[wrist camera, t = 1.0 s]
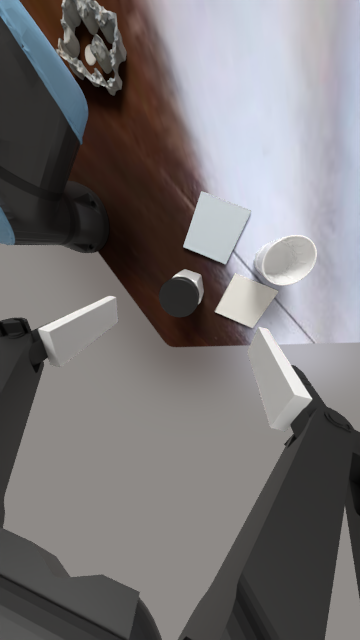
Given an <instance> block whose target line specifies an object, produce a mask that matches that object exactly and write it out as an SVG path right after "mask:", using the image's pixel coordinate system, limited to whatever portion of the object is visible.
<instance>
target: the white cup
mask: <svg viewBox="0 0 360 640" xmlns="http://www.w3.org/2000/svg"><path fill="white" fill-rule="evenodd" d="M316 258H317V250H316V247H315V245H314V243H313V242H312V241H311V240H310V239H309V238H307V237H305V236H301V235H291V236H287V237H284V238H280V239H277V240H274V241H272V242H269V243H267V244H265V245H264V246H262V247H261V248H260V249H259V250H258V251H257V253H256V254H255V258H254V265H255V268H256V269H257V270H258V272H259V273H260V274H261V275H262V276H263V277H264V278H266V279H267V280H268V281H269V282H271V283H273V284H275V285H280V286H285V285H291V284H294V283H296V282H298V281H300V280H302V279H303V278H304V277H305V276H307V275H308V274H309V272H310V271H311V270H312V268H313V267H314V264H315V262H316Z"/></svg>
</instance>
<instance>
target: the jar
mask: <svg viewBox="0 0 360 640" xmlns="http://www.w3.org/2000/svg"><path fill="white" fill-rule="evenodd" d="M203 293H204V289H203V283H202V277H201V275H200V274H197V273H194V272H192V271H189V270H186V269H184V270H182V271H181V272H179V273H177V274H176V275H175V276H174V277H173V278H171V279H170V280H168V281H167V282H165V283H164V284H163V286H162V287H161V289H160V293H159V300H160V304H161V306H162V308H163V309H164V310H165V311H166V312H167V313H168V314H170V315H172V316H175V317H185V316H188V315H190V314H191V313H192V312H193V311H194V310H195V309H196V307H197V305H198V304H199V303H200V302H201V299H202V296H203Z"/></svg>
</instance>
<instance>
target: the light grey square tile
mask: <svg viewBox="0 0 360 640" xmlns="http://www.w3.org/2000/svg"><path fill="white" fill-rule="evenodd" d="M250 213H251V210H248V209H246V208H243V207H241V206H238V205H236V204H233V203H231V202H228V201H226V200H223V199H220V198H218V197H215V196H213V195H210V194H208V193H205V192H203V191H201V194H200V197H199V200H198V203H197V207H196V210H195V213H194V216H193V219H192V222H191V225H190V228H189V231H188V234H187V237H186V240H185V243H184V246H183V247H185V248H187V249H190V250H192V251H194V252H197V253H199V254H202V255H204V256H207V257H209V258H211V259H214V260H216V261H219V262H221V263H224V264H226V263H227V261H228V259H229V257H230V254H231V252H232V250H233V248H234V246H235V244H236V242H237V240H238V238H239V236H240V234H241V232H242V229H243V227H244V225H245V223H246V221H247V219H248V217H249V215H250Z"/></svg>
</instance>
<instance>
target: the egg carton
mask: <svg viewBox="0 0 360 640" xmlns="http://www.w3.org/2000/svg"><path fill="white" fill-rule="evenodd" d="M61 6H62V9H63V19H62V20H61V25H62V27H63V29H64V41H63V40H62V39H61V38H59V41H58V50H56V49H55V51H56V53H57V54H58V55H59V56H62V57H63V58H64V59H65V60H67V61H68V62H69V65H70V68H71V69H72V71H73V72H74V73H75V74H76V75H77V76H78V77H79V78H80V79H82V80H84V77H85V76H86V77H87V78H88V79H89V80H90V81H91V83H92V84H93V85H94V86H96V87H99V86H100V85H102V86H105V87H106V89H107V90H108V91H109V93H110V94H111V95H114V96H115V93H116V91H117V90H121V88H122V80H121V79H120V77H119V75H118V67H119V64H120V63H121V62H123V61H125V60H126V50H125V48H124V46H123V43H122V37H121V34H120V32H119V30H118V28H117V17H116V13H113V12H111V11H106V10H105V9H104V7H101V6H100V5H99V4H98V3H97V2H96V1H93V0H63V3H62V5H61ZM81 19H82V20H83V22H84V23H85V25H86V27H87V28H88V30H89V32H90V33H91V34H92V35H94V38H93V40H92V45H91V44H89V45H87V47H86V49H85V57H86V61H87V63H88V64H89V65H94V64H95V62H96V60H97V61H98V63H99V64H100V66H101V67H102V69H103V70H104V72H105V73H107V74H109V73H110V72H111V71H112V69H113V70H114V73H115V77H114V79H112V78H110V79H109V80H108V81H107V82H108V84H107V83H106V81H105V80H104V78H103V77H102V75H101V74H100V72H99V71H98V70H97V69H96V68H94V70H95V72H94V73H93V74H92V75H90V73H89V72H88V71H87V69H86V68H85V67H84V65H83V63H82V62H81V61H79V60H78V58H77V57H78V55H79V53H80V45H79V41H78V39H77V38H76V36H75V27H78V26H79V25H80V23H81ZM99 27H100V29H101V30H102V32H103V34H104V36H105V38H106V40H107V41H108V42H109V43H110V44H112V43H113V47H112V49H111V50H110V52H109V51H108V49H107V48H106V46H105V44H104V42H103V40H102V39H101V38H100V37H99V36H98V35H97V34H96V33H97V32H98V29H99Z"/></svg>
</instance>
